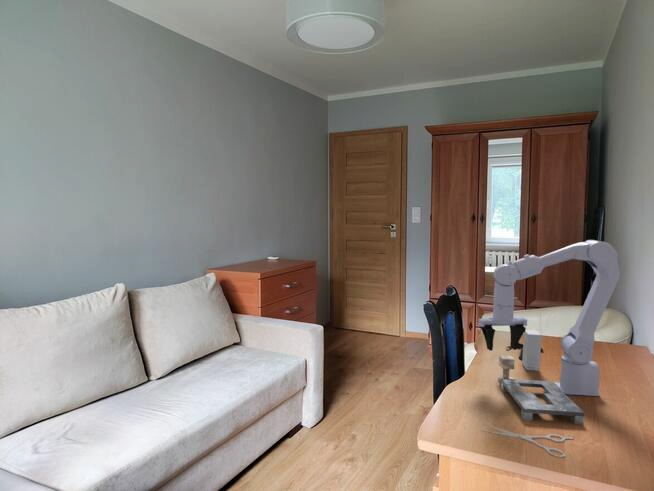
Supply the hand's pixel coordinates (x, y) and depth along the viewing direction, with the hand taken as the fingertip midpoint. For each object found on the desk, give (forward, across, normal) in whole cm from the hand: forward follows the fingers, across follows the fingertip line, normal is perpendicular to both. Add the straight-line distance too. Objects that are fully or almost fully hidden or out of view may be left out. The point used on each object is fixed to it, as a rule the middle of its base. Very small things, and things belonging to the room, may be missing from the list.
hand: (501, 349), depth 134 cm
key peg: (+10, -2, 0) cm, 10 cm away
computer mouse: (+11, -22, -25) cm, 35 cm away
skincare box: (+10, -17, -11) cm, 23 cm away
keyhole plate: (+10, -2, +16) cm, 19 cm away
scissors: (+11, +12, +32) cm, 36 cm away
